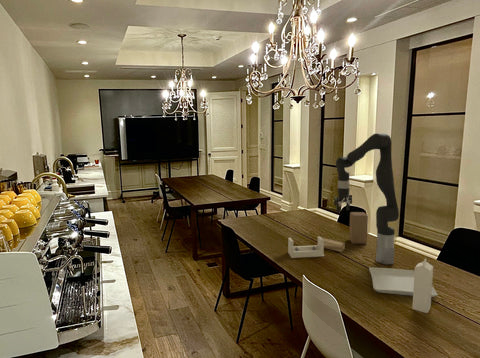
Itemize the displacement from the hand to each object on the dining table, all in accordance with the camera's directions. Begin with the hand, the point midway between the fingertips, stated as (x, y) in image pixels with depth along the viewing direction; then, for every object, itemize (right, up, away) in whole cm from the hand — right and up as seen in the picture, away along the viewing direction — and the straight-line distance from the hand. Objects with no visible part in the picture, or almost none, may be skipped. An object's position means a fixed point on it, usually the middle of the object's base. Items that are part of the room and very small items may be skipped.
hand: (343, 210), depth 230 cm
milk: (+9, -35, -82) cm, 89 cm away
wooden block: (+12, -22, +6) cm, 26 cm away
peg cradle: (-28, -26, -16) cm, 41 cm away
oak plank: (-9, -24, -6) cm, 26 cm away
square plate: (+10, -32, -60) cm, 69 cm away
